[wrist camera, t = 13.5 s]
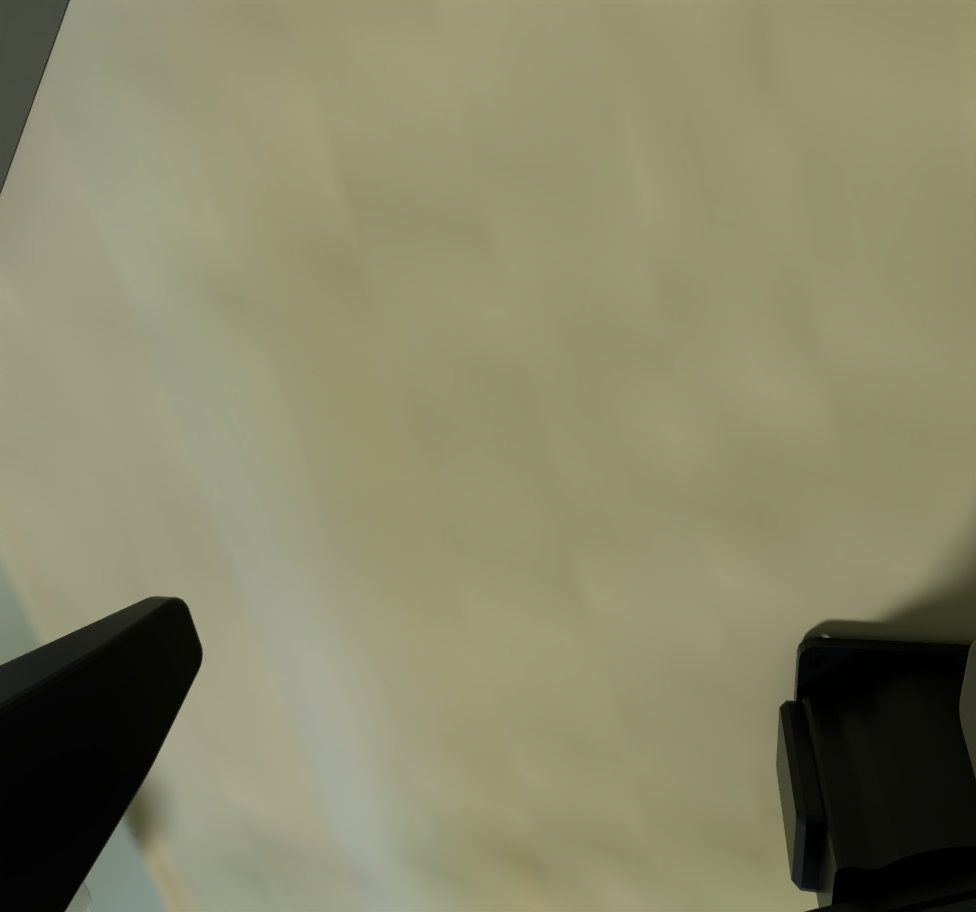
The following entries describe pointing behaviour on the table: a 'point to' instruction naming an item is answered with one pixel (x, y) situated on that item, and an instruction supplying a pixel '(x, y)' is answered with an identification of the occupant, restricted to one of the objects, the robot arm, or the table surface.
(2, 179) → the power strip
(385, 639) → the table surface
